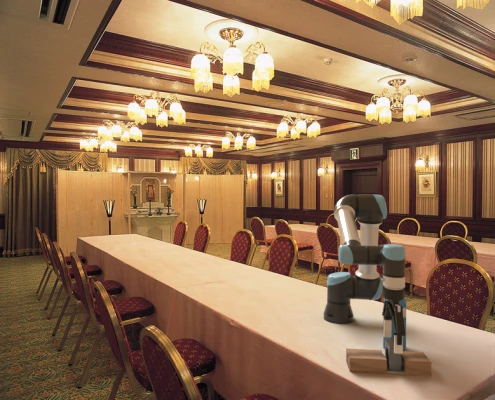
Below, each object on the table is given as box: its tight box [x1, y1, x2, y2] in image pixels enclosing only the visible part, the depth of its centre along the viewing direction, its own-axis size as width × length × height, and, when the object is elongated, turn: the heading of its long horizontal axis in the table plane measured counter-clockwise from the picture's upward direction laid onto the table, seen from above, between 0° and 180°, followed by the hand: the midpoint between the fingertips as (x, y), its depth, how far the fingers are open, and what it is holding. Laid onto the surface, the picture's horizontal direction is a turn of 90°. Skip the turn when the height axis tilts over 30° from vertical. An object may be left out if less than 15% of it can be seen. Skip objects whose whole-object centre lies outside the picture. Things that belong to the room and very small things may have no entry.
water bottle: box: [382, 297, 407, 351], centre depth 150 cm, size 9×9×25 cm
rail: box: [345, 348, 433, 377], centre depth 132 cm, size 8×28×5 cm, turn 84°
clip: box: [384, 339, 401, 372], centre depth 132 cm, size 6×4×9 cm, turn 173°
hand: (392, 344), depth 132 cm, fingers open, 13 cm apart
